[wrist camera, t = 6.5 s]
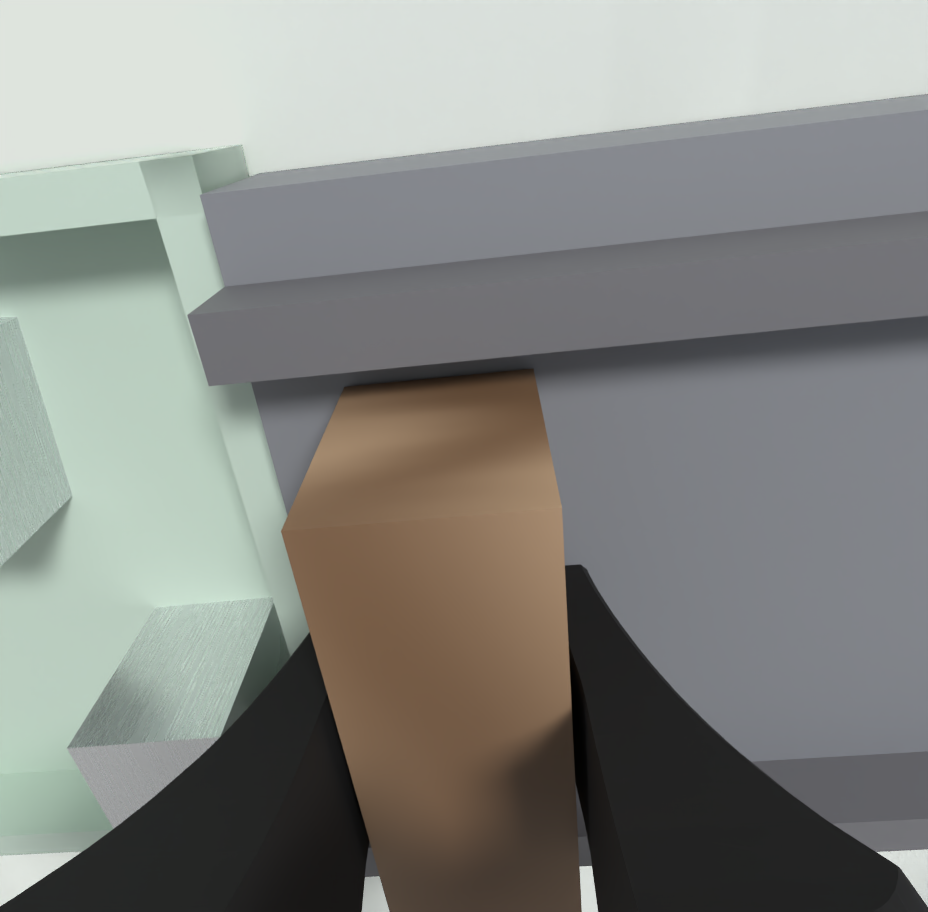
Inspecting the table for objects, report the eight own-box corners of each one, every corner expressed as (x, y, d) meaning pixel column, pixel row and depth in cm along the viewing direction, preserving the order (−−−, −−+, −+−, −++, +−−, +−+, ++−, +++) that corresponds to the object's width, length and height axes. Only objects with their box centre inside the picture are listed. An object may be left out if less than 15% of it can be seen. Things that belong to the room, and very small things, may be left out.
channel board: (1470, 29, 11) (2036, -8, 7) (1140, 695, 18) (1329, 867, 14) (259, 173, 12) (155, 210, 8) (391, 742, 19) (369, 911, 15)
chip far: (220, 736, 13) (67, 748, 13) (274, 865, 14) (139, 874, 15) (275, 596, 16) (155, 607, 16) (314, 714, 18) (204, 722, 18)
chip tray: (241, 144, 12) (191, 155, 10) (387, 754, 19) (376, 835, 17) (-474, 231, 13) (-660, 258, 11) (-74, 782, 20) (-138, 862, 18)
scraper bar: (533, 368, 11) (561, 508, 7) (557, 754, 15) (583, 960, 11) (344, 386, 11) (280, 531, 7) (422, 762, 15) (406, 967, 12)
